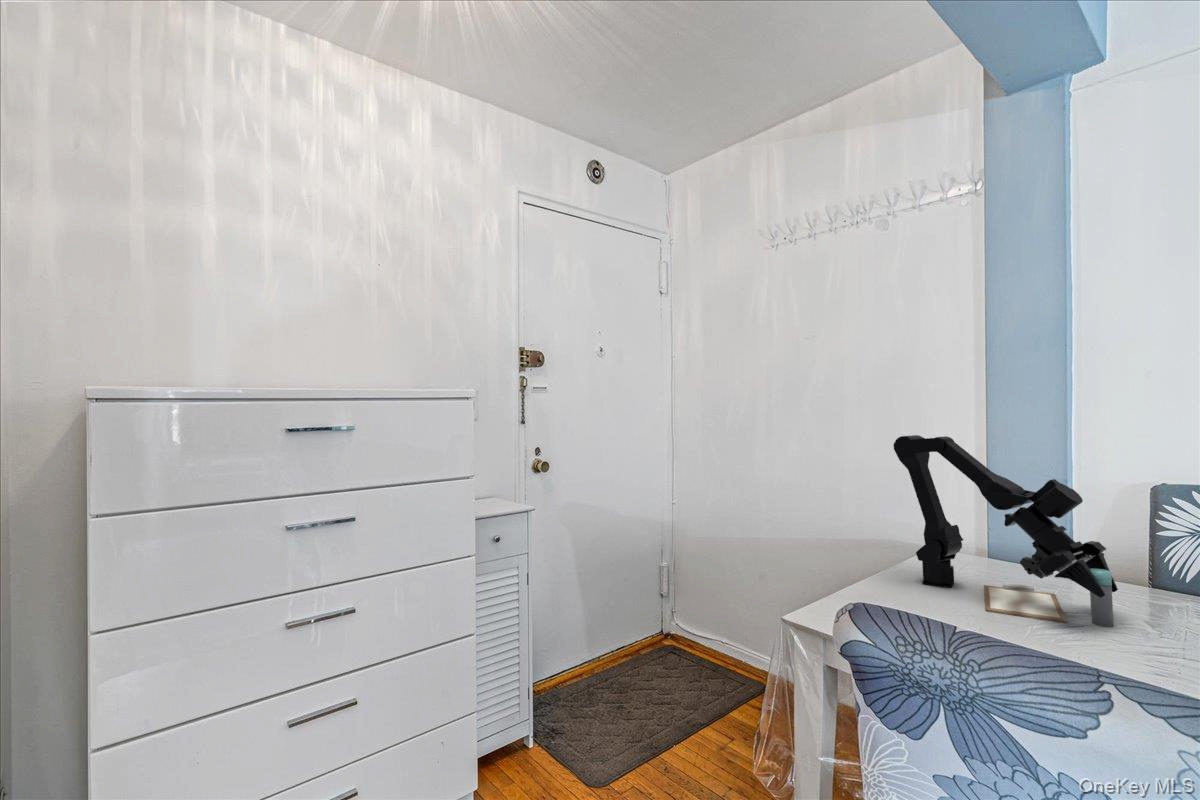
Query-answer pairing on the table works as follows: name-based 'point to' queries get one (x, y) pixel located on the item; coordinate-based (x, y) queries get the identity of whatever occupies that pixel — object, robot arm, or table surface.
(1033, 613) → the clipboard
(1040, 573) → the robot arm
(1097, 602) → the marker
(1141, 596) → the table surface
